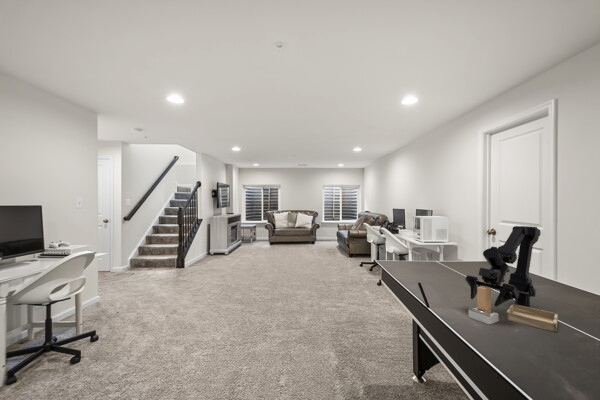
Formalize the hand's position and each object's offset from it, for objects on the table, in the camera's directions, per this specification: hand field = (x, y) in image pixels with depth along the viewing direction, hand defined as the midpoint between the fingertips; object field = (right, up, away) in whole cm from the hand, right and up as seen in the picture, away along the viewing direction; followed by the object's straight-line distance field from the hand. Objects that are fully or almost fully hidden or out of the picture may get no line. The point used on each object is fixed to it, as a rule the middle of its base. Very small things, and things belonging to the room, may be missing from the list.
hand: (482, 302), depth 110 cm
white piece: (+1, -7, 0) cm, 7 cm away
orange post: (+1, -7, 0) cm, 7 cm away
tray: (+20, -8, -1) cm, 21 cm away
